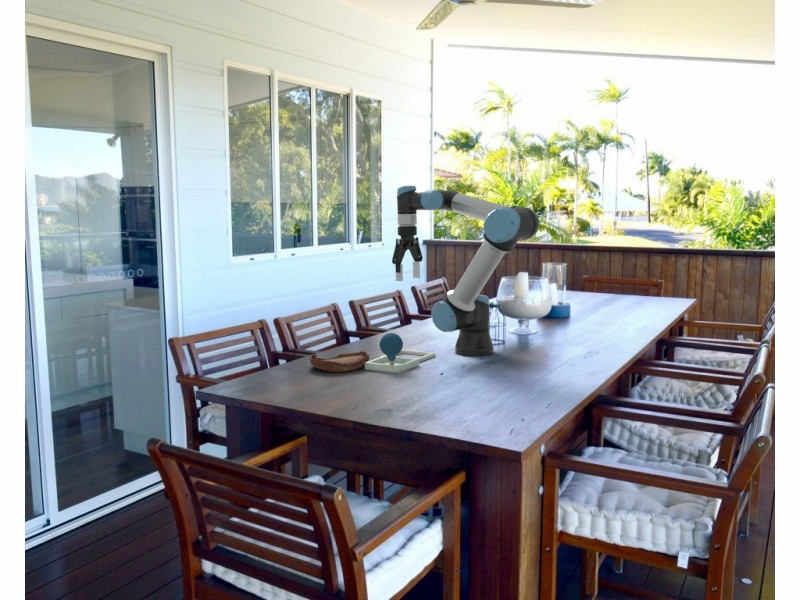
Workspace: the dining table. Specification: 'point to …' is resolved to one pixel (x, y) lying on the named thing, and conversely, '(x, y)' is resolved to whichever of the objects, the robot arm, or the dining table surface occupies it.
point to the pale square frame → (425, 354)
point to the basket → (341, 362)
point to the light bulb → (391, 346)
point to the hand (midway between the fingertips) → (408, 279)
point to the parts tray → (398, 367)
